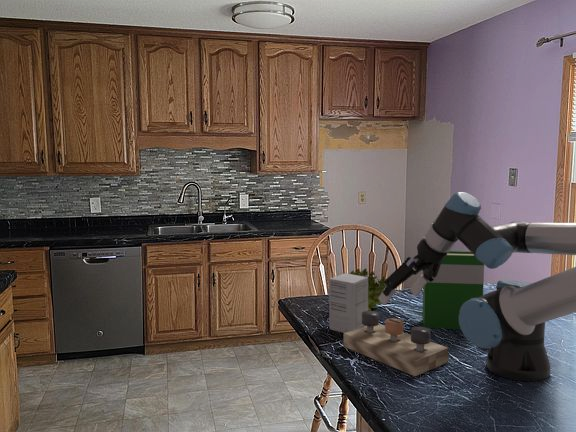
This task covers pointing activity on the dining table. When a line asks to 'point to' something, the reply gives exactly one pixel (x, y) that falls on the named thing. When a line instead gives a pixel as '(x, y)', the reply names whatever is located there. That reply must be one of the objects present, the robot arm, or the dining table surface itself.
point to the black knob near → (420, 337)
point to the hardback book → (452, 289)
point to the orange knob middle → (394, 328)
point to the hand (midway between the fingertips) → (397, 297)
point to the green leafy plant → (372, 287)
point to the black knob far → (370, 320)
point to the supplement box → (347, 302)
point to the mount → (396, 350)
